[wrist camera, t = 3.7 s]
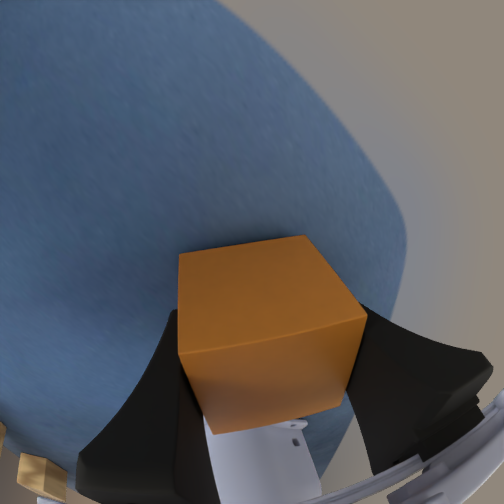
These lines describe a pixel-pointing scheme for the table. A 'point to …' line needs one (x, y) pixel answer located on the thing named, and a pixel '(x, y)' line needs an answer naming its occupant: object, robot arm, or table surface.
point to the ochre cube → (265, 332)
